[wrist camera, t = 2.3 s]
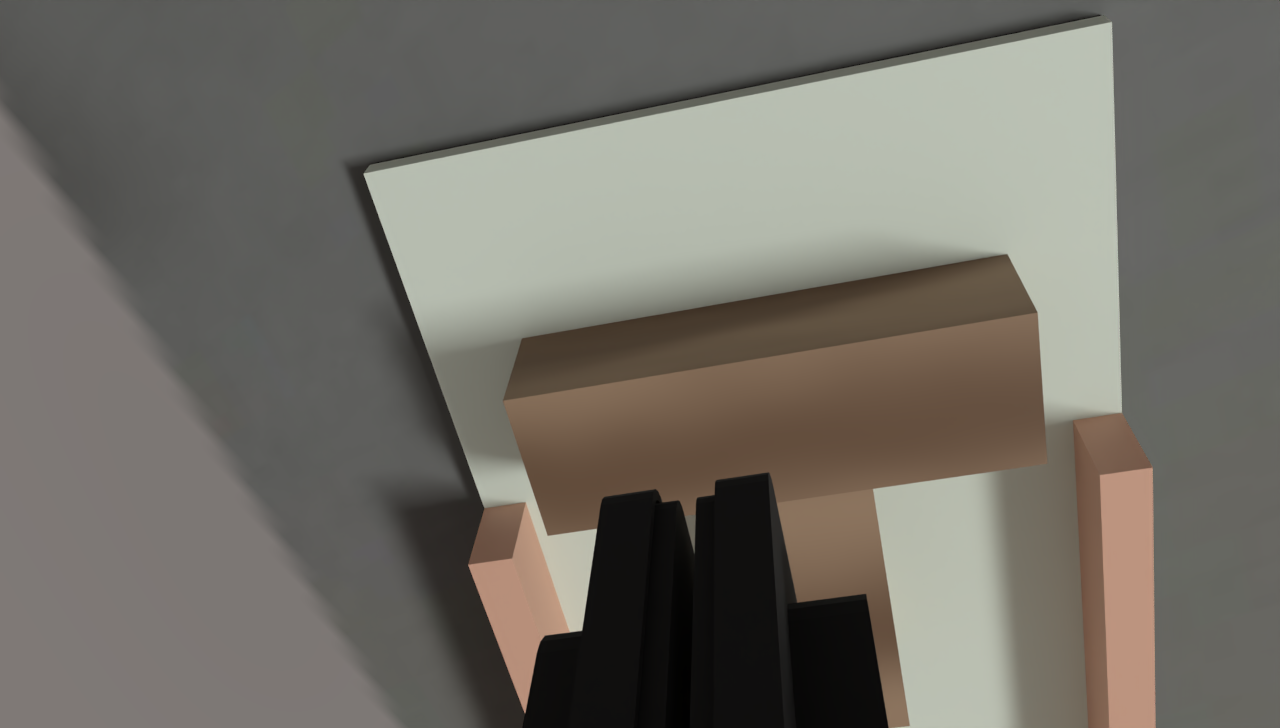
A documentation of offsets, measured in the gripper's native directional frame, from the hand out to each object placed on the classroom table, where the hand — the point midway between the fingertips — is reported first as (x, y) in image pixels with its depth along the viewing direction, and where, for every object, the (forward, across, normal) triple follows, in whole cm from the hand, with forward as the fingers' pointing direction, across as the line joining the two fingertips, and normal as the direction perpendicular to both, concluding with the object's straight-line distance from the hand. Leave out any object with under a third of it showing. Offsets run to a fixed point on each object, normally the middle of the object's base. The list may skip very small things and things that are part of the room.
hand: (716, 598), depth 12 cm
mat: (+17, 0, +14) cm, 22 cm away
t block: (+16, 0, +11) cm, 20 cm away
